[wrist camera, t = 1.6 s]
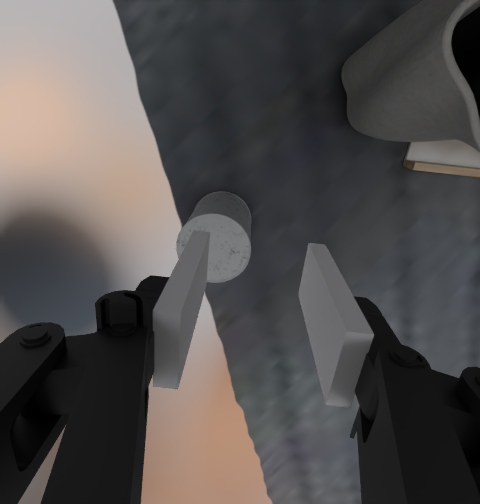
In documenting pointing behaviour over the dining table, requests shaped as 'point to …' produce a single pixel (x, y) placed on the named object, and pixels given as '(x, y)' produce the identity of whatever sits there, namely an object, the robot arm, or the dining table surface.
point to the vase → (419, 76)
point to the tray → (443, 157)
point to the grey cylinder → (221, 234)
